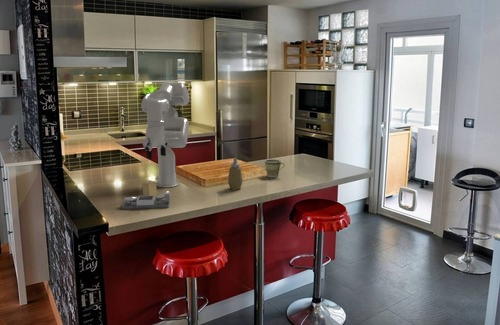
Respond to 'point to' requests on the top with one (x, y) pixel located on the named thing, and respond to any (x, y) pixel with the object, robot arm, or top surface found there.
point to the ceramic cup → (273, 167)
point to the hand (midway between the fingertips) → (156, 157)
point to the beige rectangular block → (149, 188)
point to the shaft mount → (147, 201)
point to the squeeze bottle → (235, 176)
